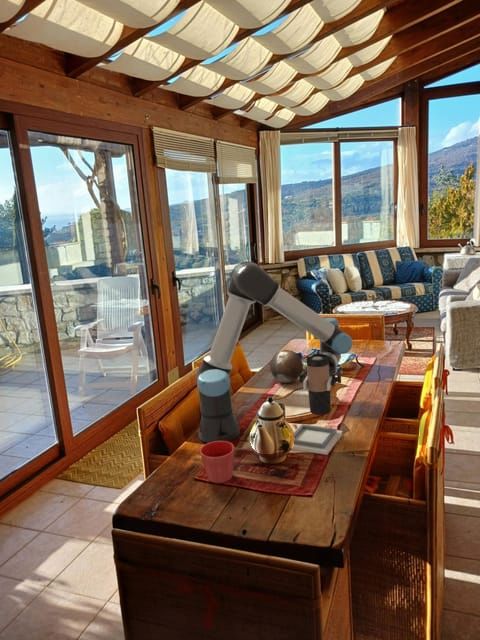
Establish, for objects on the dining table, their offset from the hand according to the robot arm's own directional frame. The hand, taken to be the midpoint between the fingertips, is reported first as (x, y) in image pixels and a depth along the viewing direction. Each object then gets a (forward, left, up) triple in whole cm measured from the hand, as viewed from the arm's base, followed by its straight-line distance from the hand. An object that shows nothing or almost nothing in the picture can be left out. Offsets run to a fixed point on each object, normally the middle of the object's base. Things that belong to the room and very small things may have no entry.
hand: (316, 386), depth 175 cm
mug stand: (-2, -1, -20) cm, 20 cm away
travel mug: (-1, +5, -11) cm, 12 cm away
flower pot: (-21, -33, -20) cm, 44 cm away
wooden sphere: (-35, +51, -20) cm, 65 cm away
